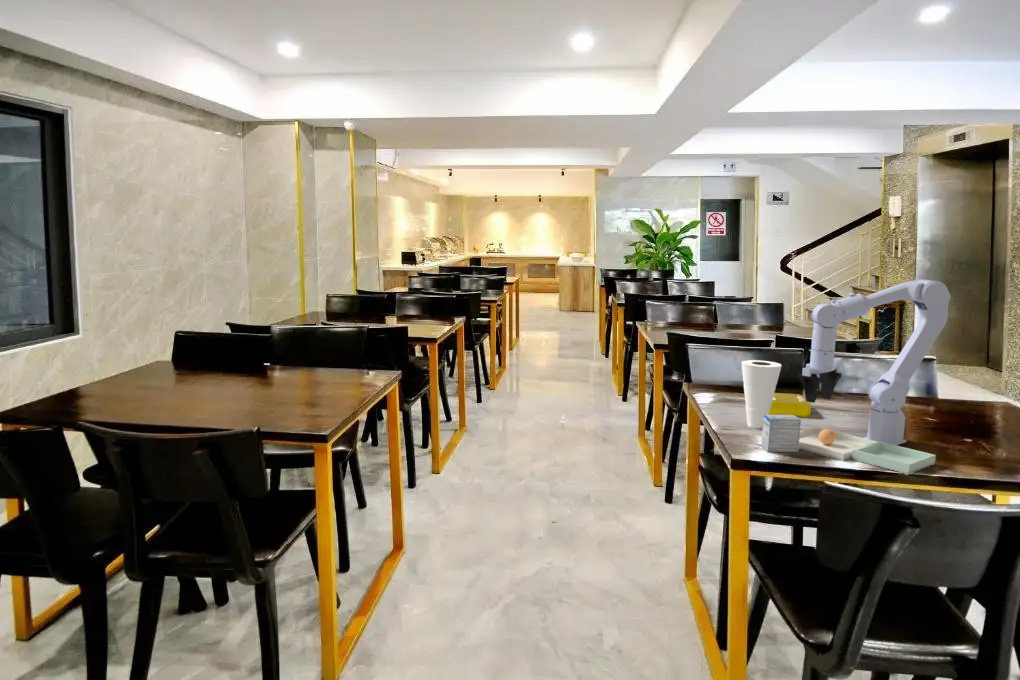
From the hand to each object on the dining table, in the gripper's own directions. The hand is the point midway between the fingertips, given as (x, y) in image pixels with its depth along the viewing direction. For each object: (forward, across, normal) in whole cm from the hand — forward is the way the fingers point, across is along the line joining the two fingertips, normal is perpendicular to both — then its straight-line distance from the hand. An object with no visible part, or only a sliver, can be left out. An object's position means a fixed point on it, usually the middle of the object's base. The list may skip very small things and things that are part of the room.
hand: (818, 400), depth 196 cm
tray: (+10, +4, +6) cm, 13 cm away
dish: (+10, +4, +22) cm, 25 cm away
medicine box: (+11, +18, +1) cm, 21 cm away
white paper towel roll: (+11, +3, -16) cm, 19 cm away
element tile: (+11, -20, -23) cm, 33 cm away
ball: (+8, +5, +6) cm, 11 cm away
